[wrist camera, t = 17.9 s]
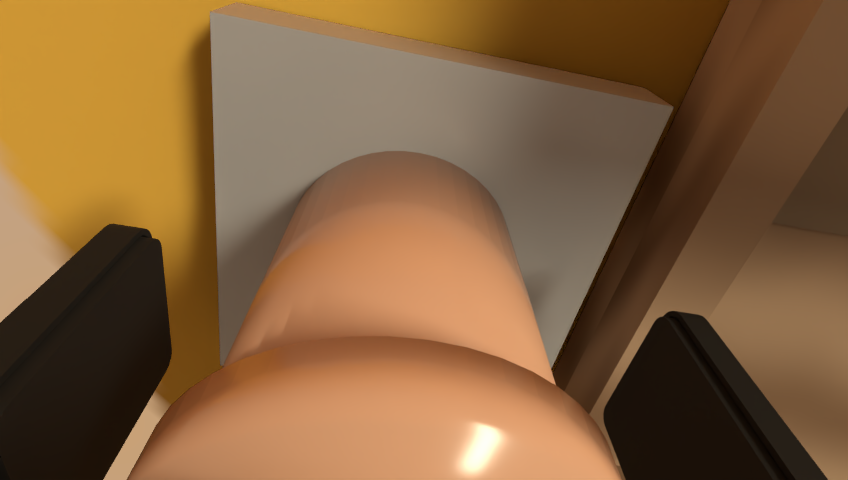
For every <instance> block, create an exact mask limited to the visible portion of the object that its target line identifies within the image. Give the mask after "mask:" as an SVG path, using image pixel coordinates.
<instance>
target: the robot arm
mask: <svg viewBox="0 0 848 480" xmlns="http://www.w3.org/2000/svg"><path fill="white" fill-rule="evenodd" d="M171 354H172V348H171V338H170V328H169V317H168V307H167V297H166V287H165V277H164V267H163V257H162V247H161V243H160V241H159V240H158V239H154V238H152V236H151V234H150V232H149V230H147V229H143V228H137V227H131V226H124V225H118V224H109V225H107V226H106V227H104V228H103V229H102V230H101V231H100V232H99V233H98V234H97V235H96V236H95V237H94V238H92V239H91V240H90V241H89V242H88V243H87V244H86V245H85V246H84V247H83V248H82V249H80V250H79V251H78V252H77V253H76V254H75V255H74V256H73V257H72V258H71V259H70V260H69V261H67V262H66V263H65V264H64V265H63V266H62V267H61V268H60V269H59V270H58V271H57V272H56V273H55V274H53V275H52V276H51V277H50V278H49V279H48V280H47V281H46V282H45V283H44V284H43V285H41V286H40V287H39V288H38V289H37V290H36V291H35V292H34V293H33V294H32V295H31V296H30V297H28V299H26V300H25V301H23V302H22V303H21V304H20V305H19V306H18V307H17V308H16V309H15V310H14V311H13V312H11V314H9V315H8V316H7V317H6V318H5V319H4V320H3V321H2V322H1V323H0V480H103V479H104V477H105V475H106V474H107V472H108V470H109V468H110V467H111V465H112V463H113V462H114V460H115V458H116V456H117V455H118V453H119V451H120V450H121V448H122V446H123V444H124V443H125V441H126V439H127V437H128V436H129V434H130V432H131V431H132V428H133V427H134V425H135V424H136V422H137V420H138V419H139V417H140V415H141V413H142V412H143V410H144V408H145V407H146V405H147V403H148V401H149V400H150V398H151V396H152V395H153V393H154V391H155V389H156V388H157V386H158V384H159V383H160V381H161V379H162V377H163V376H164V374H165V372H166V370H167V368H168V366H169V363H170V359H171ZM603 419H604V424H605V427H606V430H607V433H608V435H609V438H610V440H611V443H612V446H613V448H614V451H615V453H616V456H617V459H618V461H619V464H620V466H621V469H622V472H623V474H624V477H625V479H626V480H828V479H827V477H826V476H825V475H824V473H823V472H822V471H821V469H820V468H819V467H818V465H817V464H816V463H815V461H814V460H813V459H812V457H811V456H810V455H809V454H808V452H807V451H806V450H805V448H804V447H803V446H802V444H801V443H800V442H799V440H798V439H797V438H796V436H795V435H794V434H793V432H792V431H791V430H790V429H789V427H788V426H787V425H786V423H785V422H784V421H783V419H782V418H781V417H780V415H779V414H778V413H777V411H776V410H775V409H774V407H773V406H772V405H771V404H770V402H769V401H768V400H767V398H766V397H765V396H764V394H763V393H762V392H761V390H760V389H759V388H758V386H757V385H756V384H755V382H754V381H753V380H752V379H751V377H750V376H749V375H748V373H747V372H746V371H745V369H744V368H743V367H742V365H741V364H740V363H739V361H738V360H737V359H736V357H735V356H734V355H733V354H732V352H731V351H730V350H729V348H728V347H727V346H726V344H725V343H724V342H723V340H722V339H721V338H720V336H719V335H718V334H717V332H716V331H715V330H714V328H713V327H712V326H711V325H710V323H709V322H708V321H707V319H705V318H704V317H703V316H701V315H698V314H691V313H685V312H678V311H669V312H667V313H666V314H665V315H664V316H663V317H659V318H657V319H656V320H655V322H654V323H653V325H652V327H651V328H650V330H649V332H648V334H647V335H646V337H645V339H644V340H643V342H642V344H641V346H640V347H639V349H638V351H637V352H636V354H635V356H634V358H633V359H632V361H631V363H630V364H629V366H628V368H627V370H626V371H625V373H624V375H623V376H622V378H621V380H620V382H619V383H618V385H617V387H616V388H615V390H614V392H613V394H612V395H611V397H610V399H609V400H608V402H607V404H606V406H605V408H604V413H603Z"/></svg>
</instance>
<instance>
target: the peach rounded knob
mask: <svg viewBox="0 0 848 480" xmlns="http://www.w3.org/2000/svg"><path fill="white" fill-rule="evenodd" d="M127 480H622V479H621V476H620V474H619V471H618V468H617V466H616V463H615V460H614V458H613V455H612V452H611V450H610V447H609V444H608V442H607V440H606V438H605V436H604V435H603V433H602V431H601V430H600V428H599V426H598V425H597V423H596V422H595V421H594V419H593V418H592V417H591V416H590V415H589V414H588V413H587V412H586V410H585V409H584V408H583V407H582V406H581V405H580V404H579V403H578V402H577V401H575V400H574V399H573V398H572V397H570V396H569V395H568V394H567V393H565V392H564V391H563V390H562V389H560V388H559V387H558V386H556V384H555V380H554V377H553V374H552V371H551V367H550V364H549V361H548V358H547V354H546V351H545V348H544V345H543V341H542V338H541V335H540V331H539V328H538V325H537V322H536V318H535V315H534V312H533V309H532V305H531V302H530V299H529V296H528V292H527V289H526V286H525V282H524V279H523V276H522V273H521V269H520V266H519V263H518V260H517V256H516V253H515V250H514V247H513V243H512V240H511V237H510V233H509V230H508V227H507V224H506V221H505V218H504V216H503V213H502V211H501V209H500V207H499V205H498V204H497V202H496V200H495V199H494V198H493V196H492V195H491V194H490V192H489V191H488V190H487V189H486V188H485V187H484V186H483V185H482V184H481V183H480V182H479V181H478V180H477V179H476V178H475V177H473V176H472V175H470V174H469V173H468V172H466V171H465V170H463V169H462V168H460V167H458V166H456V165H454V164H452V163H450V162H448V161H445V160H443V159H440V158H438V157H434V156H430V155H426V154H422V153H416V152H408V151H385V152H377V153H370V154H367V155H363V156H359V157H356V158H353V159H351V160H348V161H346V162H343V163H341V164H339V165H338V166H336V167H334V168H332V169H331V170H329V171H327V172H326V173H325V174H324V175H322V176H321V177H320V178H318V179H317V180H316V181H315V182H314V183H313V184H312V185H311V186H310V187H309V188H308V190H307V191H306V192H305V194H304V195H303V197H302V198H301V199H300V201H299V203H298V205H297V207H296V209H295V211H294V213H293V215H292V217H291V219H290V222H289V224H288V226H287V228H286V230H285V232H284V235H283V237H282V239H281V241H280V243H279V245H278V248H277V250H276V252H275V254H274V256H273V258H272V261H271V263H270V265H269V267H268V269H267V271H266V274H265V276H264V278H263V280H262V282H261V284H260V287H259V289H258V291H257V293H256V295H255V297H254V300H253V302H252V304H251V306H250V308H249V310H248V313H247V315H246V317H245V319H244V321H243V323H242V326H241V328H240V330H239V332H238V334H237V337H236V339H235V341H234V343H233V345H232V347H231V350H230V352H229V354H228V356H227V358H226V360H225V363H224V365H223V367H222V369H220V370H218V371H216V372H214V373H212V374H211V375H209V376H208V377H206V378H205V379H203V380H202V381H200V382H199V383H197V384H196V385H194V386H193V387H191V388H190V389H188V390H187V391H186V392H185V393H184V394H183V395H182V396H181V397H180V398H179V399H178V400H177V401H175V402H174V403H173V404H172V405H171V406H170V407H169V409H168V410H167V411H166V413H165V414H164V415H163V417H162V418H161V419H160V421H159V423H158V424H157V425H156V427H155V429H154V430H153V432H152V434H151V436H150V438H149V440H148V441H147V443H146V445H145V447H144V449H143V451H142V453H141V454H140V456H139V458H138V460H137V462H136V464H135V465H134V467H133V469H132V471H131V473H130V475H129V477H128V479H127Z"/></svg>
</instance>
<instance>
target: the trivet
mask: <svg viewBox="0 0 848 480" xmlns="http://www.w3.org/2000/svg"><path fill="white" fill-rule="evenodd" d="M210 30H211V64H212V99H213V133H214V168H215V202H216V236H217V271H218V305H219V340H220V365H222V366H223V365H224V363H225V360H226V358H227V356H228V354H229V352H230V350H231V347H232V345H233V343H234V341H235V339H236V337H237V334H238V332H239V330H240V328H241V326H242V323H243V321H244V319H245V317H246V315H247V313H248V310H249V308H250V306H251V304H252V302H253V300H254V297H255V295H256V293H257V291H258V289H259V287H260V284H261V282H262V280H263V278H264V276H265V274H266V271H267V269H268V267H269V265H270V263H271V261H272V258H273V256H274V254H275V252H276V250H277V248H278V245H279V243H280V241H281V239H282V237H283V235H284V232H285V230H286V228H287V226H288V224H289V222H290V219H291V217H292V215H293V213H294V211H295V209H296V207H297V205H298V203H299V201H300V199H301V198H302V197H303V195H304V194H305V192H306V191H307V190H308V188H309V187H310V186H311V185H312V184H313V183H314V182H315V181H316V180H317V179H318V178H320V177H321V176H322V175H324V174H325V173H326V172H327V171H329V170H331V169H332V168H334V167H336V166H338V165H339V164H341V163H343V162H346V161H348V160H351V159H353V158H356V157H359V156H363V155H367V154H370V153H377V152H385V151H408V152H416V153H422V154H426V155H430V156H434V157H438V158H440V159H443V160H445V161H448V162H450V163H452V164H454V165H456V166H458V167H460V168H462V169H463V170H465V171H466V172H468V173H469V174H470V175H472V176H473V177H475V178H476V179H477V180H478V181H479V182H480V183H481V184H482V185H483V186H484V187H485V188H486V189H487V190H488V191H489V192H490V194H491V195H492V196H493V198H494V199H495V200H496V202H497V204H498V205H499V207H500V209H501V211H502V213H503V216H504V218H505V221H506V224H507V227H508V230H509V233H510V237H511V240H512V243H513V247H514V250H515V253H516V256H517V260H518V263H519V266H520V269H521V273H522V276H523V279H524V282H525V286H526V289H527V292H528V296H529V299H530V302H531V305H532V309H533V312H534V315H535V318H536V322H537V325H538V328H539V331H540V335H541V338H542V341H543V345H544V348H545V351H546V354H547V358H548V361H549V364H550V367H551V368H552V366H553V364H554V362H555V360H556V358H557V355H558V353H559V351H560V349H561V347H562V345H563V343H564V340H565V338H566V336H567V334H568V332H569V330H570V328H571V326H572V323H573V321H574V319H575V317H576V315H577V313H578V311H579V308H580V306H581V304H582V302H583V300H584V298H585V296H586V294H587V291H588V289H589V287H590V285H591V283H592V281H593V279H594V277H595V274H596V272H597V270H598V268H599V266H600V264H601V262H602V259H603V257H604V255H605V253H606V251H607V249H608V247H609V245H610V242H611V240H612V238H613V236H614V234H615V232H616V230H617V227H618V225H619V223H620V221H621V219H622V217H623V215H624V213H625V210H626V208H627V206H628V204H629V202H630V200H631V198H632V196H633V193H634V191H635V189H636V187H637V185H638V183H639V181H640V178H641V176H642V174H643V172H644V170H645V168H646V166H647V164H648V161H649V159H650V157H651V155H652V153H653V151H654V149H655V147H656V144H657V142H658V140H659V138H660V136H661V134H662V132H663V129H664V127H665V125H666V123H667V121H668V119H669V117H670V115H671V112H672V110H673V108H674V107H673V106H672V105H670V104H668V103H667V102H665V101H664V100H662V99H661V98H659V97H658V96H656V95H655V94H653V93H652V92H650V91H649V90H647V89H646V88H644V87H639V86H634V85H629V84H625V83H620V82H615V81H610V80H605V79H601V78H596V77H591V76H586V75H581V74H577V73H572V72H567V71H562V70H558V69H553V68H548V67H543V66H538V65H534V64H529V63H524V62H519V61H514V60H510V59H505V58H500V57H495V56H491V55H486V54H481V53H476V52H471V51H467V50H462V49H457V48H452V47H447V46H443V45H438V44H433V43H428V42H423V41H419V40H414V39H409V38H404V37H400V36H395V35H390V34H385V33H380V32H376V31H371V30H366V29H361V28H356V27H352V26H347V25H342V24H337V23H333V22H328V21H323V20H318V19H313V18H309V17H304V16H299V15H294V14H289V13H285V12H280V11H275V10H270V9H266V8H261V7H256V6H251V5H246V4H242V3H237V2H236V3H233V4H231V5H228V6H225V7H222V8H219V9H216V10H213V11H211V12H210Z"/></svg>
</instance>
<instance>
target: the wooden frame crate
mask: <svg viewBox="0 0 848 480" xmlns="http://www.w3.org/2000/svg"><path fill="white" fill-rule="evenodd" d="M669 311H678V312H685V313H691V314H698V315H701V316H703V317H704V318H705V319H707V321H708V322H709V323H710V325H711V326H712V327H713V328H714V330H715V331H716V332H717V334H718V335H719V336H720V338H721V339H722V340H723V342H724V343H725V344H726V346H727V347H728V348H729V350H730V351H731V352H732V354H733V355H734V356H735V357H736V359H737V360H738V361H739V363H740V364H741V365H742V367H743V368H744V369H745V371H746V372H747V373H748V375H749V376H750V377H751V379H752V380H753V381H754V382H755V384H756V385H757V386H758V388H759V389H760V390H761V392H762V393H763V394H764V396H765V397H766V398H767V400H768V401H769V402H770V404H771V405H772V406H773V407H774V409H775V410H776V411H777V413H778V414H779V415H780V417H781V418H782V419H783V421H784V422H785V423H786V425H787V426H788V427H789V429H790V430H791V431H792V432H793V434H794V435H795V436H796V438H797V439H798V440H799V442H800V443H801V444H802V446H803V447H804V448H805V450H806V451H807V452H808V454H809V455H810V456H811V457H812V459H813V460H814V461H815V463H816V464H817V465H818V467H819V468H820V469H821V471H822V472H823V473H824V475H825V476H826V477H827V479H828V480H848V0H731V1H730V3H729V5H728V7H727V9H726V11H725V13H724V15H723V17H722V19H721V22H720V24H719V26H718V28H717V30H716V32H715V34H714V36H713V38H712V40H711V43H710V45H709V47H708V49H707V51H706V53H705V55H704V57H703V59H702V62H701V64H700V66H699V68H698V70H697V72H696V74H695V76H694V78H693V80H692V83H691V85H690V87H689V89H688V91H687V93H686V95H685V97H684V99H683V101H682V104H681V106H680V108H679V110H678V112H677V114H676V116H675V118H674V120H673V122H672V125H671V127H670V129H669V131H668V133H667V135H666V137H665V139H664V141H663V144H662V146H661V148H660V150H659V152H658V154H657V156H656V158H655V160H654V162H653V165H652V167H651V169H650V171H649V173H648V175H647V177H646V179H645V181H644V183H643V186H642V188H641V190H640V192H639V194H638V196H637V198H636V200H635V202H634V205H633V207H632V209H631V211H630V213H629V215H628V217H627V219H626V221H625V223H624V226H623V228H622V230H621V232H620V234H619V236H618V238H617V240H616V242H615V244H614V247H613V249H612V251H611V253H610V255H609V257H608V259H607V261H606V263H605V266H604V268H603V270H602V272H601V274H600V276H599V278H598V280H597V282H596V284H595V287H594V289H593V291H592V293H591V295H590V297H589V299H588V301H587V303H586V305H585V308H584V310H583V312H582V314H581V316H580V318H579V320H578V322H577V324H576V327H575V329H574V331H573V333H572V335H571V337H570V339H569V341H568V343H567V345H566V348H565V350H564V352H563V354H562V356H561V358H560V360H559V362H558V364H557V366H556V369H555V371H554V373H553V377H554V380H555V384H556V386H558V387H559V388H560V389H562V390H563V391H564V392H565V393H567V394H568V395H569V396H570V397H572V398H573V399H574V400H575V401H577V402H578V403H579V404H580V405H581V406H582V407H583V408H584V409H585V410H586V412H587V413H588V414H589V415H590V416H591V417H592V418H593V419H594V421H595V422H596V423H597V425H598V426H599V428H600V430H601V431H602V433H603V435H604V436H605V438H606V440H607V442H608V444H609V447H610V450H611V452H612V455H613V458H614V460H615V463H616V466H617V468H618V471H619V474H620V476H621V479H622V480H626V479H625V477H624V474H623V472H622V469H621V466H620V464H619V461H618V459H617V456H616V453H615V451H614V448H613V446H612V443H611V440H610V438H609V435H608V433H607V430H606V427H605V424H604V419H603V413H604V408H605V406H606V404H607V402H608V400H609V399H610V397H611V395H612V394H613V392H614V390H615V388H616V387H617V385H618V383H619V382H620V380H621V378H622V376H623V375H624V373H625V371H626V370H627V368H628V366H629V364H630V363H631V361H632V359H633V358H634V356H635V354H636V352H637V351H638V349H639V347H640V346H641V344H642V342H643V340H644V339H645V337H646V335H647V334H648V332H649V330H650V328H651V327H652V325H653V323H654V322H655V320H656V319H657V318H659V317H663V316H664V315H665V314H666V313H667V312H669Z"/></svg>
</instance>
